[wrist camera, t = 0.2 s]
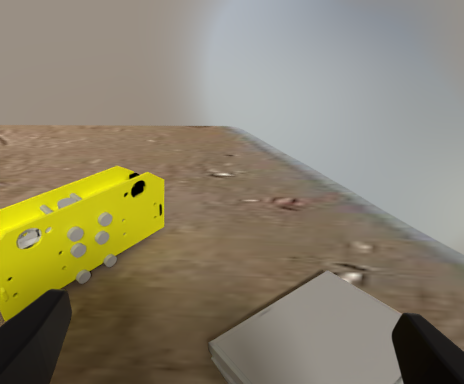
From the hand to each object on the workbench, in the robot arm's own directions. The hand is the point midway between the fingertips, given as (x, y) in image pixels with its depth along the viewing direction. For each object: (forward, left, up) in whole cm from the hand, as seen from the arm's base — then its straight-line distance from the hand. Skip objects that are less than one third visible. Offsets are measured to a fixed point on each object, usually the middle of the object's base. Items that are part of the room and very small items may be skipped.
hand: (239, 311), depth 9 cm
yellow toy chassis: (+18, +13, -17) cm, 28 cm away
